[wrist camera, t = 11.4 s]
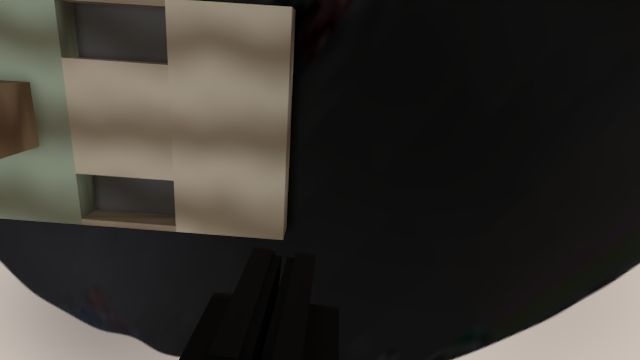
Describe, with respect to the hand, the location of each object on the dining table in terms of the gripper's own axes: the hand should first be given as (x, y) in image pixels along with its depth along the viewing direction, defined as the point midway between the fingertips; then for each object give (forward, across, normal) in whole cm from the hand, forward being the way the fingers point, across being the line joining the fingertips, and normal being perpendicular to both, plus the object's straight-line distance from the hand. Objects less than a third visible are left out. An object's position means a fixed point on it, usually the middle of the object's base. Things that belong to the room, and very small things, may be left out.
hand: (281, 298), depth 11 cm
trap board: (+24, +16, +1) cm, 28 cm away
